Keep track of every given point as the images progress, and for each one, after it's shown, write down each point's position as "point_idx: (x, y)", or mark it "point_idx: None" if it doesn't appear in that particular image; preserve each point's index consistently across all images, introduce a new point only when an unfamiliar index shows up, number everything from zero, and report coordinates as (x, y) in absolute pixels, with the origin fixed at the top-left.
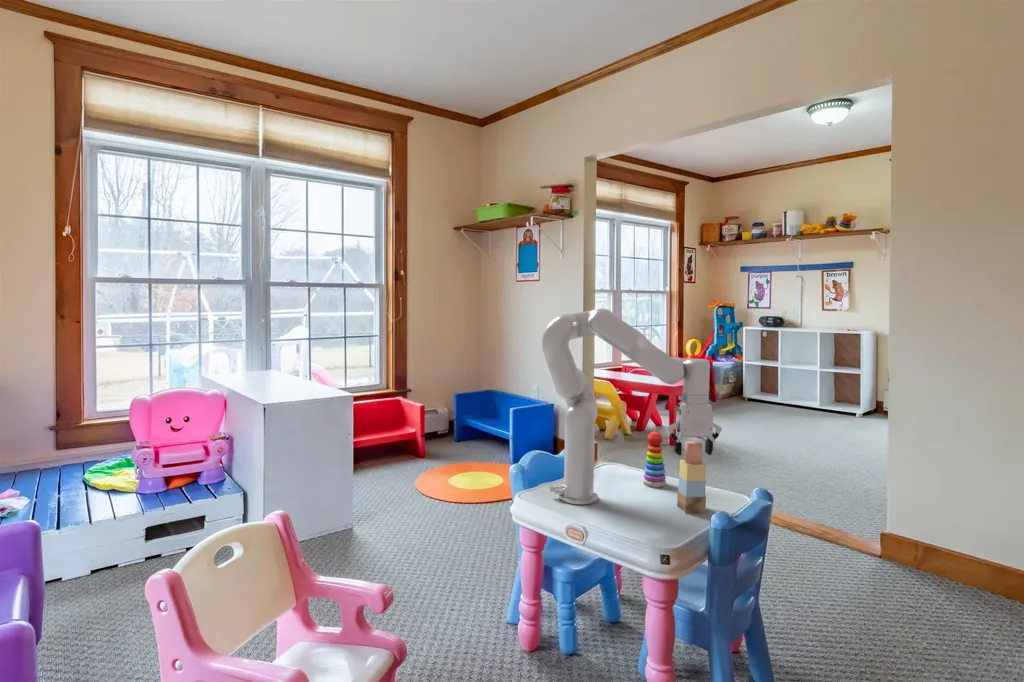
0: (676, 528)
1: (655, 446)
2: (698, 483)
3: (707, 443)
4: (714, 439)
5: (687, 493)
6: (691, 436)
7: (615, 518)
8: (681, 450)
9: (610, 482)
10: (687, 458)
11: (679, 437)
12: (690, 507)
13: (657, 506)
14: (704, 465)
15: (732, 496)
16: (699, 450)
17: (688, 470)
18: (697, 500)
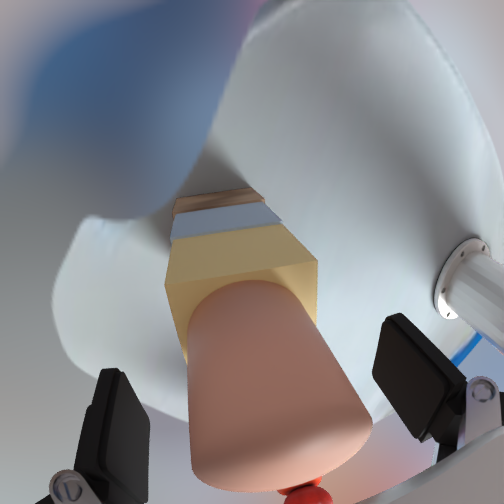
0: (320, 62)
1: (305, 484)
2: (211, 227)
3: (130, 472)
4: (52, 492)
5: (261, 205)
6: (443, 471)
7: (443, 153)
8: (406, 341)
9: (366, 386)
10: (314, 324)
11: (495, 416)
12: (236, 193)
13: (323, 245)
14: (174, 281)
15: (70, 345)
16: (235, 370)
17: (293, 247)
18: (210, 203)
